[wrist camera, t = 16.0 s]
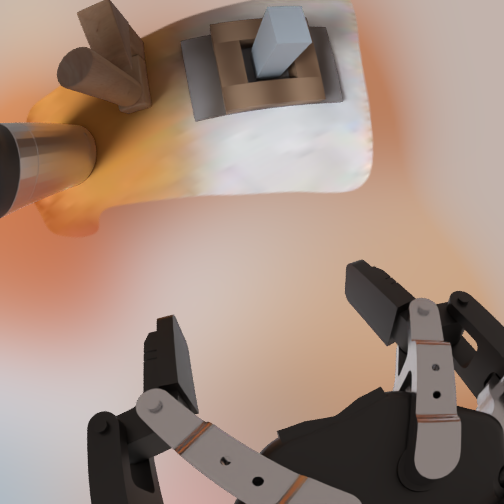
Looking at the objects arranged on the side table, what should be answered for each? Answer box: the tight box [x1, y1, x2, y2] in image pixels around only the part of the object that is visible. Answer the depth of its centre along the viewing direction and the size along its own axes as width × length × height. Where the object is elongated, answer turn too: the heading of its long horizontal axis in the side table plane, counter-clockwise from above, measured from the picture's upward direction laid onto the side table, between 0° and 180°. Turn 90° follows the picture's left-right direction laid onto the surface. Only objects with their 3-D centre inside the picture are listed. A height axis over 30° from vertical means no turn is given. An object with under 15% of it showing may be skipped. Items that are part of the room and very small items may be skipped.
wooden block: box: [57, 0, 152, 114], centre depth 20 cm, size 4×11×18 cm, turn 9°
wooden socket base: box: [181, 17, 343, 121], centre depth 28 cm, size 20×12×4 cm, turn 100°
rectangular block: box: [250, 6, 312, 80], centre depth 23 cm, size 3×4×14 cm
